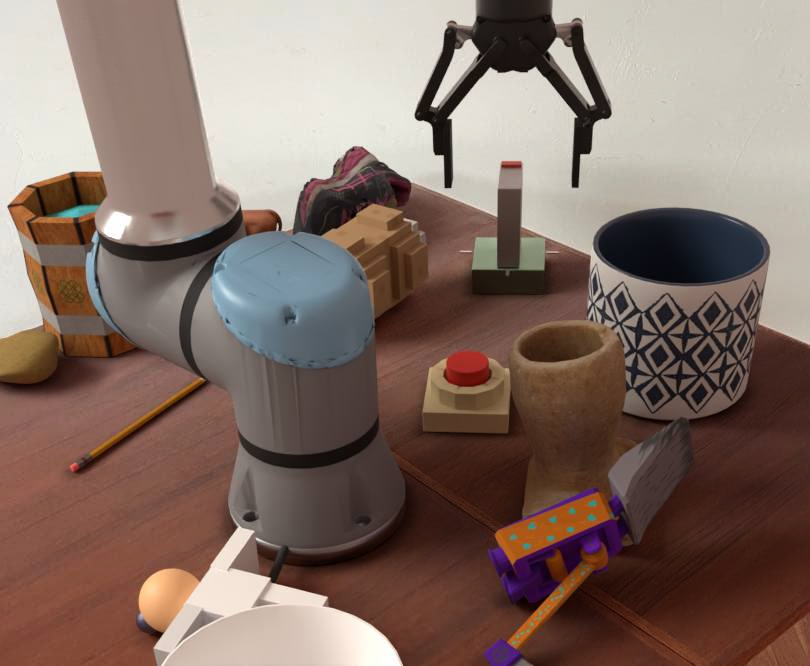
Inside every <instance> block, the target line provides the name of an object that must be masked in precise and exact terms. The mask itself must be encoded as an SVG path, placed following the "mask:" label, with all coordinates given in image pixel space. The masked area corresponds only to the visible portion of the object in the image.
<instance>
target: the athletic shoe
mask: <svg viewBox="0 0 810 666" xmlns="http://www.w3.org/2000/svg"><path fill="white" fill-rule="evenodd" d="M302 188H303V189H302V190H300V192H299V194H298V195H299V196H298V198H297V203H296V204H297V205H296V208H295V214H294V220H293V225H292V235H295V234H297V233H298V232H304V233H309V234H313V235H317V236H320V237H321V236H322V235H324V234H325V233H327V232H329V231H330V230H332V229H338V228H339V227H341V226H342V225H344V224H345V223H347V222H349V221H350V220H352V219H353V218H355V217H356V214H357V213H359V212H360V211H362V210H364V209H365V208H367V207H368V206H370V205H372V204H376V205H380V206H384V207H388V208H392V209H396V210H397V209H398V208H401V207H404V206H406V205H407V204H408V202H410V197H411V192H412V182H411V181H410V180H409V179H408V177H405V176H402V175H400V174H399V173H398V172H397V171H396V170H394V169H392V168H390V167H389V165H388V164H386V163H385V162H383V161H380V159H378V158H377V157H376V156H375V155H374V154H373V153H372V152H370V151H369V150H368V149H366V148H365V147H364V146H360V145H353V146H352V147H350V148H349V149H347V150H346V151H345V153H344V154H343V155H342V156H341V157H339V158H337V159H336V162H335V163H334V165H333V168H332V175H330V177H328V178H325V179H323V178H317V177H311V178H310V179H309V181H308V180H307V181H306V182H305V183H304V184H303V187H302Z"/></svg>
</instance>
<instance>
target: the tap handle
mask: <svg viewBox="0 0 810 666" xmlns="http://www.w3.org/2000/svg"><path fill="white" fill-rule="evenodd" d="M523 179H524V163H523V162H522V160H501V162H500V164H499V172H498V180H497V181H498V182H497V205H496V206H497V208H496V209H497V210H496V211H497V213H496V214H497V215H496V216H497V217H496V238H497V267H519V266H520V249H521V238H522V220H523V218H522V217H523V186H524V185H523V184H524V183H523Z"/></svg>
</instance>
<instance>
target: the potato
mask: <svg viewBox="0 0 810 666" xmlns="http://www.w3.org/2000/svg"><path fill="white" fill-rule="evenodd" d="M58 348H59V340H58V338H57V336H56V335H55V334H53V333H50V332H45V331H44V330H38V329H33V328H32V329H31V328H30V329H24V330H21V331H18V332H15V333H13V334H12V335H9V336H7V337H2V338H0V382H3V383H12V384H21V385H25V384H26V385H29V384H37V383H40V382H43V381H45V380H46V379H48V378H50V377H51V376H52V375H53V374H54V373H55V372H56V369H57V367H58V363H59V361H58V360H59V359H58V357H59V355H58V353H59V350H58Z"/></svg>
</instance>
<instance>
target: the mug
mask: <svg viewBox="0 0 810 666" xmlns="http://www.w3.org/2000/svg"><path fill="white" fill-rule="evenodd" d="M106 196H107V191H106V187H105V183H104V180H103V176H102V172H101V171H70V172H67V173H64V174H60V175H57V176H52V177H50V178H47V179H43V180H41V181H37V182H34V183H31V184H30V183H29V184H27V185H26V186H25V187H24V188H23V189H22V190H21V191H20V192H19V193H18V194H17V195H16V196H15V198H14V199H13V200H11V202H9V204H8V205H7V206H6V208H7V209H8V212H9V214H10V217H11V219H12V222H13V224H14V226H15V229H16V231H17V235H18V238H19V242H20V246H21V248H22V253H23V258H24V263H25V269H26V275H27V277H28V281H29V283H30V285H31V287H32V290H33V292H34V295H35V298H36V300H37V304H38V307H39V310H40V314H41V318H42V325H43V331H45V332H50V333H53V334H55V335H56V336H57V338H58V340H59V348H58V352H60V353H61V354H62V355H63V356H65V357H91V358H92V357H95V358H113V357H116V356H118V355H120V354H123V353H126V352H128V351H131V350H133V349H135V348H138V347H137V346H135V345H134V344H132V343H131V342H129V341H128V340H127V339H126V338H124V337H123V336H122V335H121V334H120V333H118V332H117V331H115V330H114V329H113V328H112V327H110V326H109V325H108V324H107V323H106V322H105V320H104V319H103V318H102V317H101V315H100V314H99V313H98V311H97V309H96V308H95V306H94V304H93V301H92V299H91V296H90V294H89V290H88V286H87V280H86V259H87V254H88V253H89V252H90V253H91V251H92V249H93V247H94V243H93V242H92V238H93V236H94V233H95V232H96V230H97V229H96V226H95V213H96V211H97V209H98V207H99V206H100V205H101V203H102V202H103V201H104V199H105V198H106Z"/></svg>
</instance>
